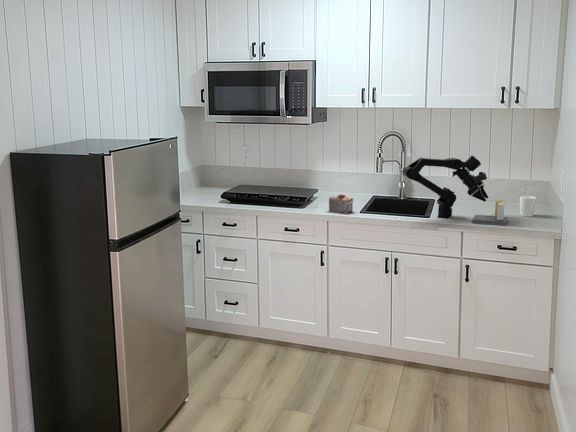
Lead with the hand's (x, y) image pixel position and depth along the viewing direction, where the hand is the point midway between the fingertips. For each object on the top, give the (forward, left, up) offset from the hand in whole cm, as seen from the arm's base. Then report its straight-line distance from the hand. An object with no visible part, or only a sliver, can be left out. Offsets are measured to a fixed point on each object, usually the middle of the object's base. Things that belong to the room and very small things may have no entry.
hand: (486, 199), depth 307 cm
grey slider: (+8, -11, -7) cm, 15 cm away
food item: (-77, -10, -10) cm, 78 cm away
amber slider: (+6, -5, -7) cm, 11 cm away
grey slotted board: (+3, -8, -10) cm, 13 cm away
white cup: (+19, +13, -10) cm, 26 cm away
